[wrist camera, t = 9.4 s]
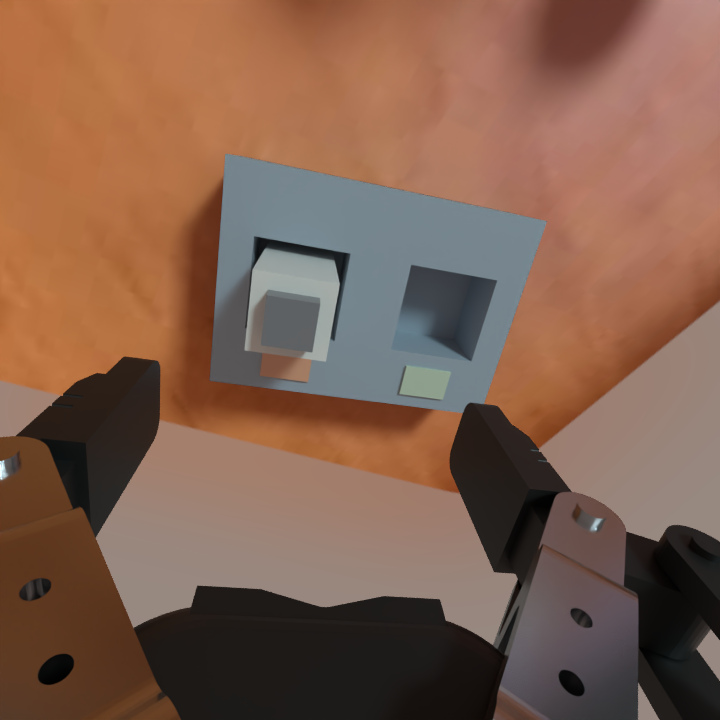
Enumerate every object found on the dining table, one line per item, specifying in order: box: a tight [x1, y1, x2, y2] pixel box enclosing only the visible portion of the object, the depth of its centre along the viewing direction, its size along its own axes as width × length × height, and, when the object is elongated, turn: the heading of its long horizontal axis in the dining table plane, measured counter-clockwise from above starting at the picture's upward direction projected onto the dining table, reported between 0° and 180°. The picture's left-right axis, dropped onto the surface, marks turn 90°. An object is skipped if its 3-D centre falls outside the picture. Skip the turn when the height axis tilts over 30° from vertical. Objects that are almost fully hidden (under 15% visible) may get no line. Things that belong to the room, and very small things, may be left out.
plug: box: [245, 239, 340, 362], centre depth 24 cm, size 4×4×10 cm
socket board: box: [210, 154, 547, 413], centre depth 28 cm, size 18×13×5 cm
